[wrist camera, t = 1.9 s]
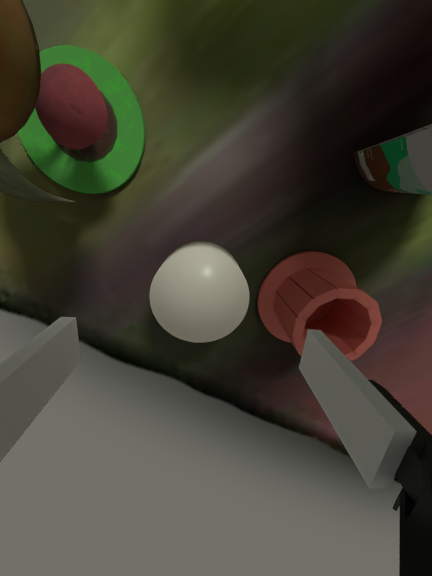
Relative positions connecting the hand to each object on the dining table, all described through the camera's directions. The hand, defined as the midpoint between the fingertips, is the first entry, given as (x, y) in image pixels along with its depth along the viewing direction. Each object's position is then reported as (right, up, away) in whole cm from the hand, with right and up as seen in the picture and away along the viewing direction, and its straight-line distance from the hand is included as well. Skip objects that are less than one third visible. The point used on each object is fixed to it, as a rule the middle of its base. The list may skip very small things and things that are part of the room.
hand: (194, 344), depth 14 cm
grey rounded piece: (0, +5, +12) cm, 13 cm away
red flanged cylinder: (+11, +2, +13) cm, 18 cm away
